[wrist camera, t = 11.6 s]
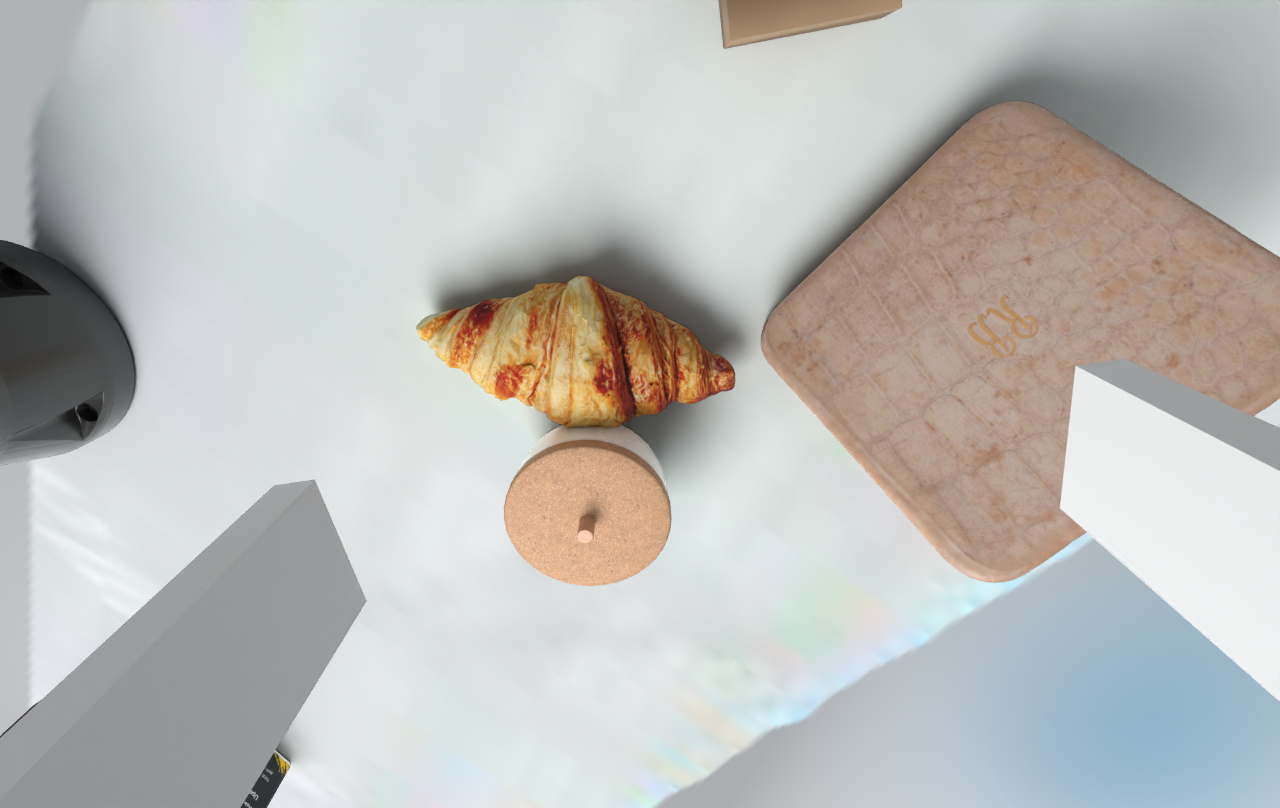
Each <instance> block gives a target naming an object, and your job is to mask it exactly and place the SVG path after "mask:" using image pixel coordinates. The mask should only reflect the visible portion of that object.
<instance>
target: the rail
mask: <svg viewBox="0 0 1280 808" xmlns="http://www.w3.org/2000/svg"><path fill="white" fill-rule="evenodd" d="M901 7H902V0H719V8H720V18H721V27H722V37H723V47H724V49H725V48H730V47H735V46H741V45H746V44H751V43H756V42H761V41H767V40H772V39H777V38H782V37H787V36H792V35H798V34H803V33H808V32H813V31H818V30H824V29H829V28H834V27H839V26H844V25H850V24H855V23H860V22H865V21H870V20H875V19H881V18H882V17H884V16H886V15H888V14H890V13H892V12H894V11H896V10H897V9H899V8H901Z"/></svg>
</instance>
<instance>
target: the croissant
mask: <svg viewBox="0 0 1280 808" xmlns="http://www.w3.org/2000/svg"><path fill="white" fill-rule="evenodd" d="M416 329H417V332H418V335H419V337H420V338H421V339H422V340H424V341H426V342H428V343H429V345H430V348H431V349H433V350H434V351H436V355H437V357H439V358H440V359H442V360H443V361H445V362H446V365H448V366H449V367H450V368H461V369H462V370H463V371H464V373H467V374H469V375H471V377H472V379H473V380H474V381H475V383H477V384H479V385H480V387H482V388H484V389H485V392H486V393H490V394H493V395H494V396H495V398H498V399H500V400H501V401H502V400H507V399H509V398H514V397H515V398H517V399H518V400H520V401H521V402H523V403H524V404H525V405H527V406H534V407H535V408H536V409H537V410H538V411H540V412H542V413H547V417H549V418H550V419H551V420H552V421H553V422H555V423H558V424H560V425H563V426H564V425H565V426H566V428H572V427H603V428H612V427H617V426H620V425H621V424H623V423H625V422H627V421H629V420H630V419H631V418H632V417H638V416H643V415H648V414H650V415H654V414H658V413H659V412H661V411H662V410H663V409H664V408H666V407H667V406H668V404H670V403H672V402H674V401H676V400H677V401H678V402H679V403H685V404H692V403H697V402H699V401H701V400H703V399H705V398H707V397H709V396H711V395H715V394H718V393H719V392H721V391H728V390H732V389H733V388H734V386H735V372H734V369H733V367H732V365H731V364H730V363H729V362H728V361H727V360H726V359H725V358H723V357H722V356H720V355H719V354H713V353H711V352H710V351H708V350H707V349H704V348H703V346H702V345H701V343H700V342H699V341H698V339H697V337H696V336H695V335H694V334H693V333H692V332H691V331H690V329H689V328H686V327H684V326H682V325H681V324H679V323H677V322H675V321H673V320H670V319H668V318H667V317H665V316H664V315H663V314H662V313H660V312H658V311H656V310H653V309H649V308H648V307H647V306H646V304H645V303H644V302H643V301H640V300H638V299H636V298H634V297H631V296H626V295H624V294H622V293H621V292H616V291H613V290H611V289H609V288H607V287H605V286H603V285H601V284H599V283H598V282H596V281H595V280H594V279H593V278H591V277H587V276H580V275H579V276H577V277H575V278H574V279H572V280H570V281H568V282H567V283H564V282H558V283H539V284H536V285H535V287H534V288H533V290H531V291H528V292H526V293H523V294H521V295H520V296H517V297H513V298H512V297H505V298H502V299H489V300H484V301H482V302H480V303H478V304H475V305H473V306H472V307H466V308H464V309H462V310H461V309H451V310H449V311H445V312H441V313H437V314H432V315H430V316H428V317H426V318H424V319H423V320H421V321H420V323H419V324H418V325H417V326H416Z"/></svg>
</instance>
